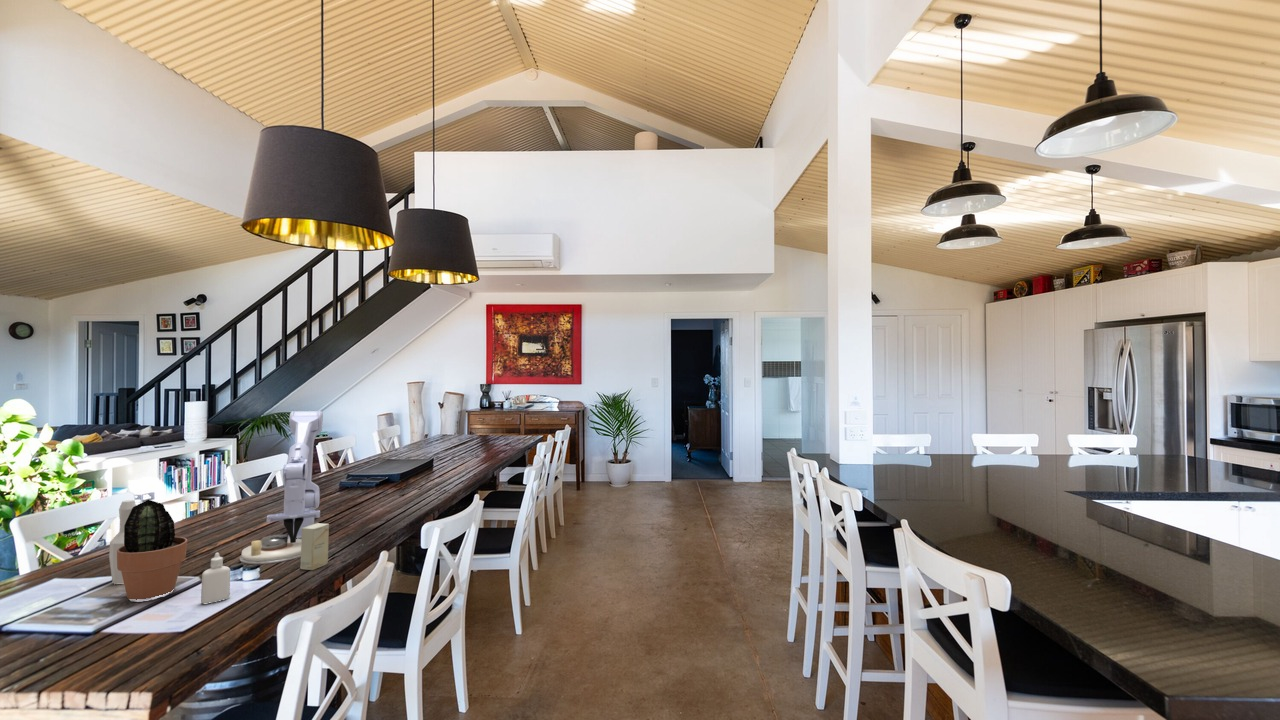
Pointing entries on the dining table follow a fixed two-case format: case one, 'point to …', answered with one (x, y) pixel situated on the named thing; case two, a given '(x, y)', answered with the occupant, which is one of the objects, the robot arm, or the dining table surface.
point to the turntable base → (268, 561)
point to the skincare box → (314, 546)
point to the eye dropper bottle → (215, 581)
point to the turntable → (270, 552)
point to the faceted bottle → (119, 540)
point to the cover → (274, 542)
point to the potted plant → (150, 552)
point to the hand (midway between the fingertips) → (293, 541)
